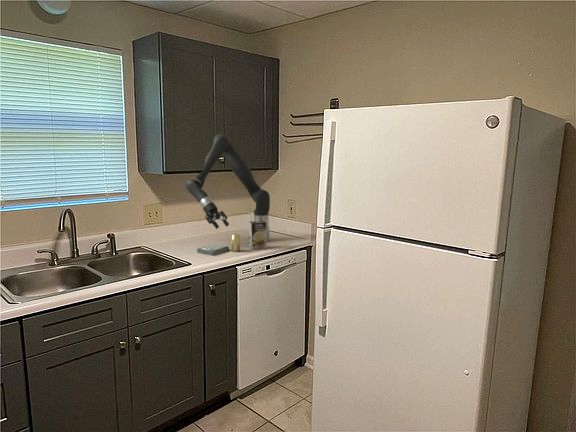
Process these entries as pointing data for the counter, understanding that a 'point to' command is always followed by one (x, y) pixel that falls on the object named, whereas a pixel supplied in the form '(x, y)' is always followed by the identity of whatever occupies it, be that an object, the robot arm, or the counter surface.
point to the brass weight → (235, 242)
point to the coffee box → (257, 235)
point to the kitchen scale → (213, 249)
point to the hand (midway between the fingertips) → (222, 226)
